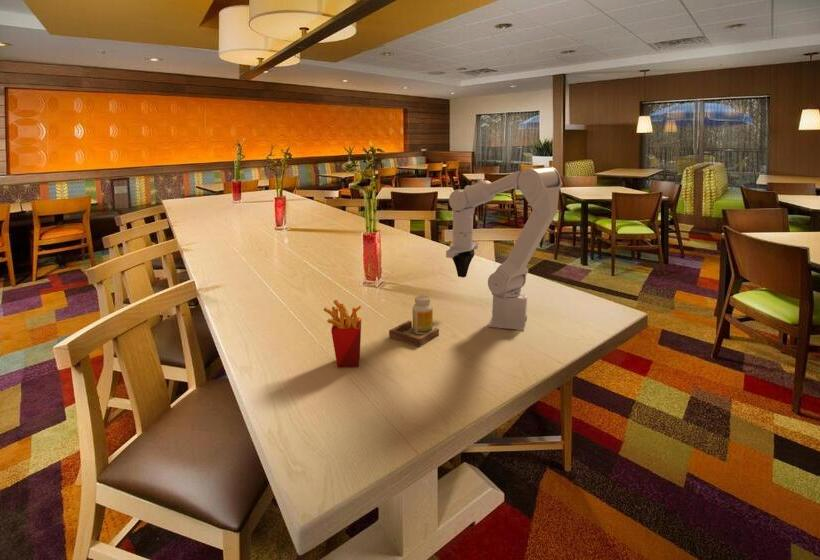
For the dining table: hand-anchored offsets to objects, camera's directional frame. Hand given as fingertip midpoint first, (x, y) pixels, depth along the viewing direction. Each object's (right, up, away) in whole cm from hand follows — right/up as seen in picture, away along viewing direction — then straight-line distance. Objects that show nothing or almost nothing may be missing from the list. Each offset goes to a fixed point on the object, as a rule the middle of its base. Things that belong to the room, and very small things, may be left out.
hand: (462, 276), depth 143 cm
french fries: (-31, -21, -31) cm, 48 cm away
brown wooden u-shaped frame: (-14, -16, -16) cm, 27 cm away
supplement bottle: (-12, -15, -13) cm, 23 cm away
